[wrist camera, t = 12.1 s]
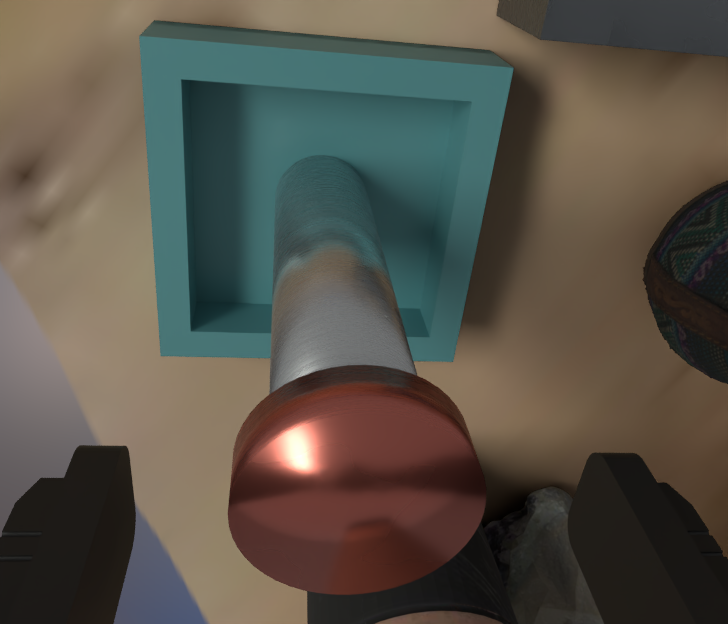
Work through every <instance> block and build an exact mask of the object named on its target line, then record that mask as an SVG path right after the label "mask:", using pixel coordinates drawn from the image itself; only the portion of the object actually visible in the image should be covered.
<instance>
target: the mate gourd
mask: <svg viewBox="0 0 728 624" xmlns="http://www.w3.org/2000/svg"><path fill="white" fill-rule="evenodd" d="M643 270H644V273H643V274H644V278H643V281H644V284H645V285H646V288H645V289H646V290H647V294H648V300H649V303H650V306H651V309H652V311H653V312H652V313H653V314H654V317H655V319H656V322H657V325H658V327H659V330H660V333H662V336H663V337H664V339H665V340H666V341H667V342H668V344H669V347H670V349H673V350H674V351H675V353H677V354H678V355H679V356H680V357H681V358H682V359H683V360H685V361H686V362H687V363H688V364H689V365H691V366H693V367H695V368H696V369H698V370H699V371H701V372H703V373H704V374H705V375H707V376H709V377H710V378H713V379H716V380H718V381H720V382H723V383H727V384H728V181H726V182H723V183H721V184H719V185H716V186H714V187H713V188H710V189H709V190H707V191H705V192H703V193H701V194H700V195H698V196H697V197H695V198H694V199H692V200H691V201H690V202H688V203H687V204H686V205H685V206H684V205H683V207H682V208H681V209H680V210H679V211H678V212H676V214H675V215H674V216H673V217H672V218H671V219H670V220H669V222H668V223H667V224H666V226H665V227H664V229H663V230H662V232H661V233H660V235H659V237H658V239H657V240H656V242H655V243H654V245H653V246H652V248H651V249H650V252H649V253H648V257H647V260H646V263H645V267H643Z"/></svg>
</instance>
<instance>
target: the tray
mask: <svg viewBox="0 0 728 624" xmlns="http://www.w3.org/2000/svg"><path fill="white" fill-rule="evenodd" d="M139 39H140V54H141V69H142V84H143V99H144V114H145V129H146V144H147V158H148V173H149V188H150V203H151V218H152V233H153V248H154V263H155V278H156V293H157V308H158V323H159V338H160V353H161V356H185V357H237V358H271V326H272V291H273V256H274V221H275V194H276V189H277V185H278V183H279V180H280V178H281V177H282V175H283V174H284V173H285V171H286V170H287V169H288V168H289V167H290V166H292V165H293V164H294V163H296V162H297V161H299V160H301V159H304V158H306V157H310V156H316V155H327V156H333V157H336V158H339V159H341V160H343V161H345V162H347V163H348V164H350V165H351V166H352V167H353V168H354V169H355V170H356V171H357V172H358V173H359V175H360V176H361V178H362V180H363V182H364V184H365V188H366V191H367V195H368V198H369V202H370V206H371V209H372V213H373V217H374V220H375V224H376V228H377V231H378V235H379V238H380V242H381V246H382V249H383V253H384V257H385V260H386V264H387V267H388V271H389V275H390V278H391V282H392V286H393V289H394V293H395V296H396V300H397V304H398V307H399V311H400V315H401V318H402V322H403V325H404V329H405V333H406V336H407V340H408V344H409V347H410V351H411V354H412V358H413V361H442V362H453V359H454V355H455V350H456V345H457V340H458V335H459V330H460V326H461V321H462V316H463V311H464V306H465V301H466V297H467V292H468V287H469V282H470V277H471V272H472V268H473V263H474V258H475V253H476V248H477V243H478V239H479V234H480V229H481V224H482V219H483V214H484V210H485V205H486V200H487V195H488V190H489V185H490V181H491V176H492V171H493V166H494V161H495V156H496V152H497V147H498V142H499V137H500V132H501V127H502V123H503V118H504V113H505V108H506V103H507V98H508V94H509V89H510V84H511V79H512V74H513V69H514V68H513V67H512V66H511V65H509V64H508V63H507V62H505V61H504V60H502V59H501V58H500V57H498V56H497V55H496V54H494V53H493V52H492V51H490V50H481V49H470V48H459V47H447V46H436V45H425V44H414V43H402V42H391V41H380V40H369V39H357V38H346V37H335V36H324V35H312V34H301V33H290V32H279V31H267V30H256V29H245V28H234V27H222V26H211V25H200V24H189V23H177V22H166V21H155V20H154V21H153V22H152V23H151V24H150V26H149V27H148V28H147V29H146V30H145V31H144V32H143V33H142V34H141V35H140V36H139Z"/></svg>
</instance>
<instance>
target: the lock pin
mask: <svg viewBox="0 0 728 624" xmlns="http://www.w3.org/2000/svg"><path fill="white" fill-rule="evenodd" d="M485 505H486V484H485V479H484V475H483V472H482V469H481V466H480V464H479V461H478V458H477V455H476V452H475V449H474V446H473V443H472V440H471V437H470V434H469V431H468V428H467V426H466V423H465V421H464V418H463V416H462V414H461V412H460V411H459V409H458V407H457V406H456V405H455V403H454V402H453V401H452V400H451V399H450V398H449V396H448V395H446V394H445V393H444V392H443V391H442V390H440V389H439V388H438V387H437V386H435V385H433V384H432V383H430V382H429V381H427V380H425V379H423V378H421V377H419V376H417V373H416V369H415V365H414V362H413V358H412V354H411V351H410V347H409V344H408V340H407V336H406V333H405V329H404V325H403V322H402V318H401V315H400V311H399V307H398V304H397V300H396V296H395V293H394V289H393V286H392V282H391V278H390V275H389V271H388V267H387V264H386V260H385V257H384V253H383V249H382V246H381V242H380V238H379V235H378V231H377V228H376V224H375V220H374V217H373V213H372V209H371V206H370V202H369V198H368V195H367V191H366V188H365V184H364V182H363V180H362V178H361V176H360V175H359V173H358V172H357V171H356V170H355V169H354V168H353V167H352V166H351V165H350V164H348V163H347V162H345V161H343V160H341V159H339V158H336V157H333V156H327V155H316V156H310V157H306V158H304V159H301V160H299V161H297V162H296V163H294V164H293V165H292V166H290V167H289V168H288V169H287V170H286V171H285V173H284V174H283V175H282V177H281V178H280V180H279V183H278V185H277V189H276V194H275V221H274V256H273V291H272V326H271V362H270V394H269V395H268V396H267V397H266V398H265V399H264V400H262V401H261V402H260V403H259V404H258V405H257V406H256V407H255V408H254V410H253V411H252V412H251V413H250V414H249V416H248V417H247V419H246V420H245V422H244V423H243V425H242V427H241V429H240V431H239V433H238V435H237V438H236V442H235V446H234V451H233V462H232V474H231V485H230V496H229V507H228V520H229V527H230V531H231V534H232V537H233V539H234V541H235V543H236V545H237V547H238V549H239V550H240V551H241V553H242V554H243V555H244V557H245V558H246V559H247V560H248V561H249V562H250V563H251V564H252V565H253V566H254V567H256V568H257V569H259V570H260V571H261V572H263V573H264V574H266V575H267V576H269V577H271V578H273V579H275V580H276V581H279V582H281V583H284V584H286V585H288V586H291V587H295V588H298V589H301V590H305V591H311V592H316V593H324V594H336V595H351V594H364V593H371V592H378V591H382V590H387V589H391V588H395V587H398V586H401V585H404V584H407V583H410V582H412V581H414V580H417V579H419V578H421V577H423V576H425V575H427V574H429V573H431V572H433V571H435V570H436V569H438V568H439V567H441V566H442V565H444V564H445V563H447V562H448V561H449V560H450V559H451V558H453V557H454V556H455V555H456V554H457V553H458V552H459V551H460V550H461V549H462V548H463V547H464V546H465V545H466V544H467V543H468V541H469V540H470V539H471V537H472V536H473V535H474V533H475V531H476V529H477V528H478V526H479V524H480V522H481V519H482V516H483V514H484V510H485Z"/></svg>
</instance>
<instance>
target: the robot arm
mask: <svg viewBox="0 0 728 624" xmlns="http://www.w3.org/2000/svg"><path fill="white" fill-rule="evenodd" d="M135 518H136V512H135V502H134V493H133V484H132V475H131V466H130V457H129V451H128V448H127V447H126V446H86V445H81V446H79V447H77V449H76V450H75V452H74V454H73V457H72V459H71V462H70V464H69V467H68V469H67V472H66V475H65V477H64V478H40V479H39V480H38V481H37V482H36V483H35V484H34V485H33V486H32V487H31V488H30V489H29V490H28V491H27V492H26V493H25V494H24V495H23V496H22V497H21V498H20V499H19V500H18V501H17V502H16V503H15V505H14V508H13V509H12V511H11V514H10V516H9V518H8V520H7V522H6V524H5V526H4V529H3V531H2V537H0V624H113V623H114V619H115V615H116V611H117V606H118V603H119V599H120V595H121V591H122V587H123V583H124V579H125V575H126V571H127V567H128V563H129V559H130V555H131V551H132V547H133V541H134V534H135V522H136V520H135ZM708 532H709V530H708V529H707V527H706V526H705V524H704V522H703V521H702V519H701V518H700V516H699V515H698V513H697V512H696V510H695V509H694V507H693V506H692V505H691V504H690V503H689V502H688V501H687V500H686V499H685V498H683V497H682V496H681V495H680V494H679V493H678V492H676V491H675V490H674V489H673V488H672V487H671V486H670V485H668V484H667V483H657V482H656V480H655V479H654V477H653V475H652V474H651V472H650V471H649V469H648V467H647V466H646V464H645V463H644V461H643V460H642V458H641V457H640V456H639V455H637V454H635V453H592V454H591V455H590V456H589V458H588V460H587V462H586V465H585V468H584V470H583V473H582V476H581V479H580V482H579V484H578V487H577V490H576V493H575V496H574V499H573V501H572V504H571V507H570V510H569V514H568V536H569V541H570V545H571V547H572V550H573V552H574V555H575V557H576V559H577V562H578V564H579V566H580V569H581V571H582V573H583V576H584V578H585V580H586V583H587V585H588V587H589V590H590V592H591V594H592V597H593V599H594V601H595V604H596V606H597V608H598V611H599V613H600V615H601V618H602V620H603V622H604V624H728V559H727V557H723V555H722V552H723V551H722V550H721V548H720V547H719V545H718V544H717V542H716V541H715V539H714V538H713V536H710V535H709V533H708Z"/></svg>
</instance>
